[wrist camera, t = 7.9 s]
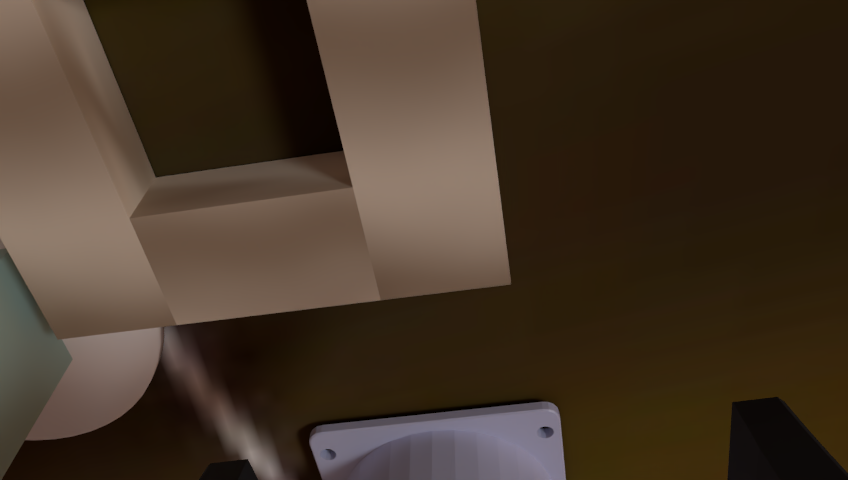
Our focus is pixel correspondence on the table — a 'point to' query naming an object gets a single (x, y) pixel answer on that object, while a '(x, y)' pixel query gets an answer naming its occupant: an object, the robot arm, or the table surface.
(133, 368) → the coaster
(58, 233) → the board
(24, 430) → the block
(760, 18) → the table surface
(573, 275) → the table surface
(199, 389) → the table surface
